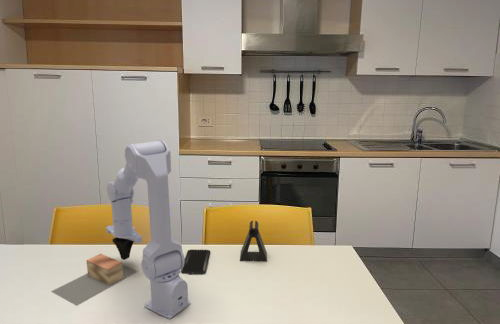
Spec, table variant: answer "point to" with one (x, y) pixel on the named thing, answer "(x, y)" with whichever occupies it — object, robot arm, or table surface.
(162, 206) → the robot arm
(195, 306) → the table surface
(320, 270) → the table surface
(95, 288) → the rubber mat
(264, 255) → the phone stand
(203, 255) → the phone
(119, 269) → the oak block
